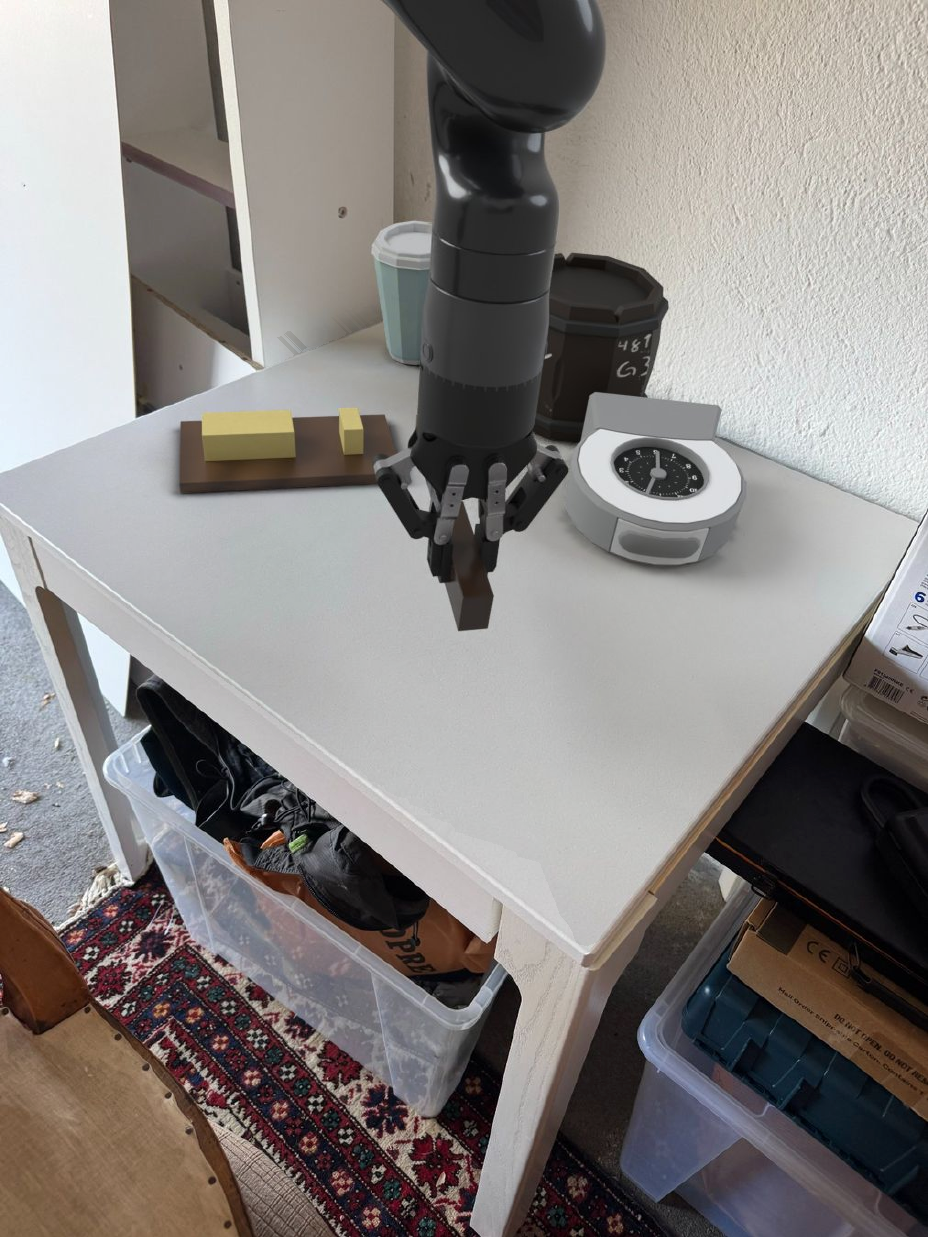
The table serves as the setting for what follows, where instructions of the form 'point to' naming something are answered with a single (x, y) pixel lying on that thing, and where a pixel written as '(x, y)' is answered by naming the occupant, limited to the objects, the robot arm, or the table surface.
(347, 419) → the butter pat
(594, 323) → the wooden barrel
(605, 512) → the alarm clock
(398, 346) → the disposable coffee cup
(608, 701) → the table surface
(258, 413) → the butter stick
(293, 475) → the board
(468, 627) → the knife
